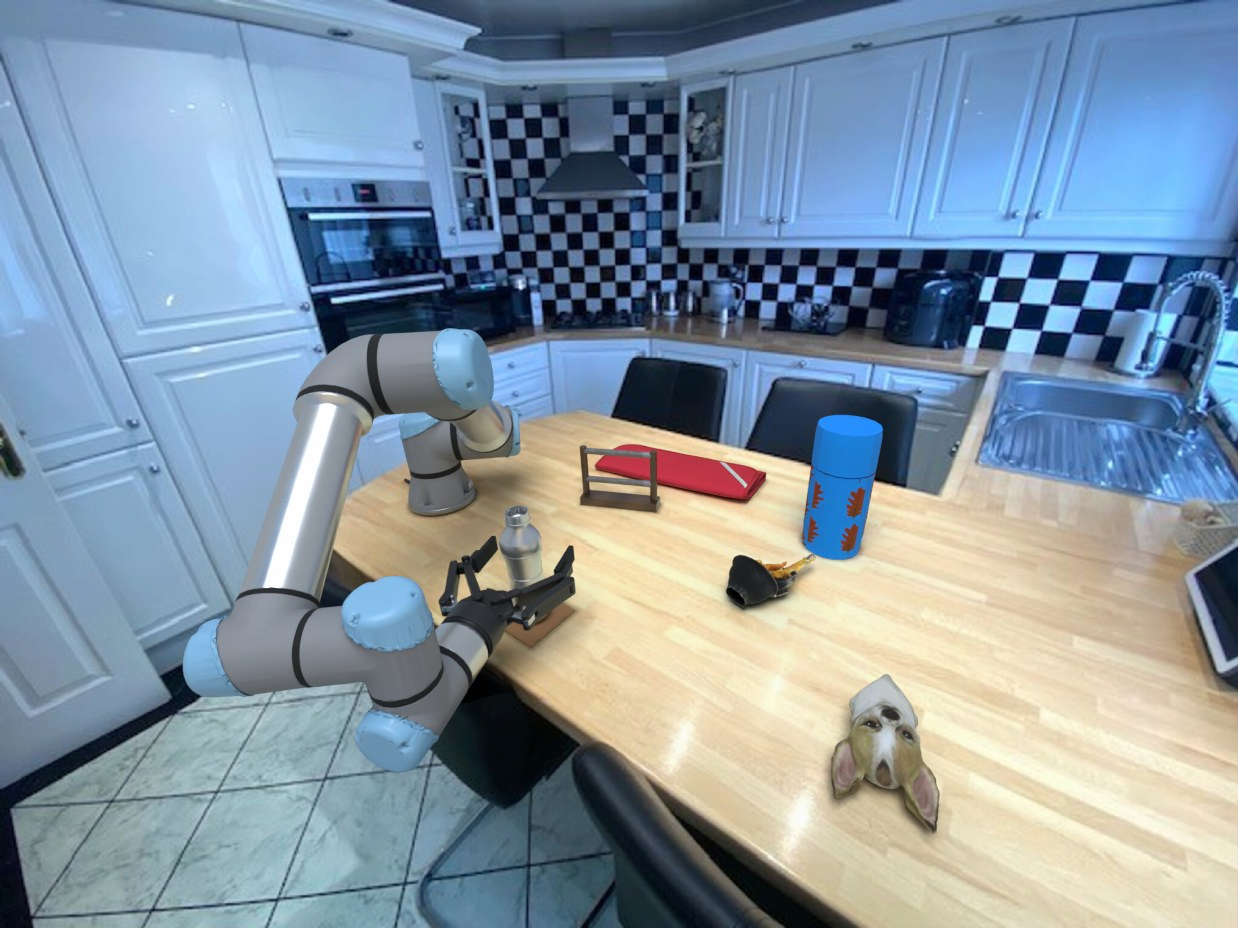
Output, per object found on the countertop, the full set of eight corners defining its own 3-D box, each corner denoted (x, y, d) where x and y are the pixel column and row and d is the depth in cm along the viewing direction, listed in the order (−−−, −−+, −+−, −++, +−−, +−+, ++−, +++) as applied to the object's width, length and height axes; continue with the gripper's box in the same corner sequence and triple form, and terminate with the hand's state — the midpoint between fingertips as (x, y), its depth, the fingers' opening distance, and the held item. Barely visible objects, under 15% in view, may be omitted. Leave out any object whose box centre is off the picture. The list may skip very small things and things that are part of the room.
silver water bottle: (544, 630, 81) (530, 524, 72) (505, 626, 82) (486, 521, 73) (557, 603, 86) (545, 502, 78) (520, 599, 88) (504, 499, 79)
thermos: (861, 535, 102) (884, 418, 91) (859, 565, 93) (884, 440, 82) (804, 524, 106) (819, 412, 95) (797, 552, 97) (813, 432, 87)
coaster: (489, 621, 84) (489, 619, 84) (533, 589, 91) (533, 587, 91) (531, 647, 78) (530, 645, 78) (574, 611, 85) (574, 609, 85)
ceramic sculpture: (940, 676, 59) (957, 803, 48) (924, 723, 64) (936, 851, 52) (842, 652, 64) (835, 763, 52) (833, 697, 68) (825, 810, 56)
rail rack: (580, 504, 118) (575, 449, 112) (586, 496, 121) (581, 442, 115) (656, 512, 113) (655, 455, 107) (659, 503, 116) (659, 448, 110)
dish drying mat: (625, 449, 145) (625, 437, 144) (766, 479, 125) (768, 465, 123) (594, 471, 133) (593, 458, 132) (745, 507, 113) (746, 493, 112)
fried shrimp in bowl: (704, 573, 85) (765, 507, 93) (734, 621, 88) (791, 553, 96) (743, 583, 77) (806, 510, 85) (774, 635, 80) (833, 560, 88)
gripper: (387, 647, 69) (468, 556, 87) (558, 682, 62) (607, 576, 81) (373, 604, 65) (460, 519, 84) (552, 636, 59) (604, 536, 77)
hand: (532, 547), depth 82 cm, fingers open, 13 cm apart
